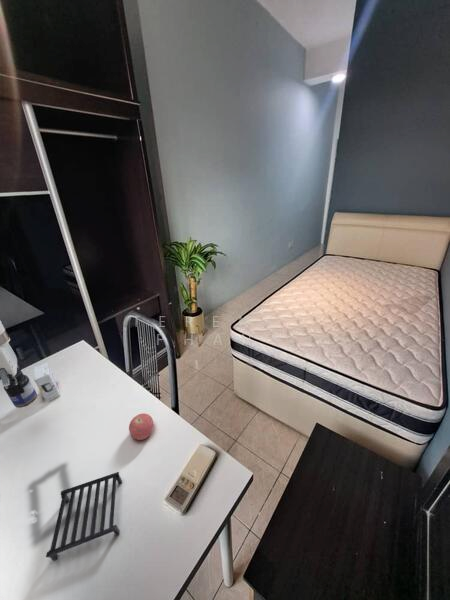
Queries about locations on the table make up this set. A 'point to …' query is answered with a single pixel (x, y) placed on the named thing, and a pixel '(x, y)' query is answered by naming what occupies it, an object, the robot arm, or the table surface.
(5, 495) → the table surface
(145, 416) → the apple
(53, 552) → the wire rack
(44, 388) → the ink box
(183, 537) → the table surface
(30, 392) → the pill bottle
